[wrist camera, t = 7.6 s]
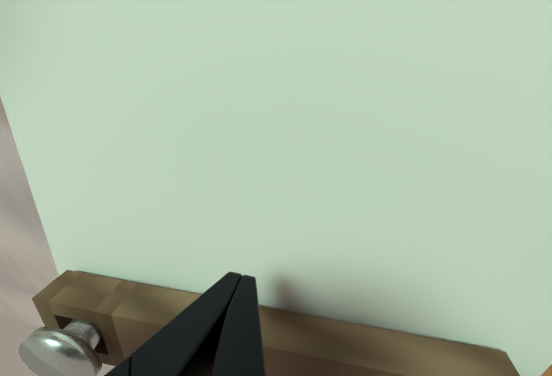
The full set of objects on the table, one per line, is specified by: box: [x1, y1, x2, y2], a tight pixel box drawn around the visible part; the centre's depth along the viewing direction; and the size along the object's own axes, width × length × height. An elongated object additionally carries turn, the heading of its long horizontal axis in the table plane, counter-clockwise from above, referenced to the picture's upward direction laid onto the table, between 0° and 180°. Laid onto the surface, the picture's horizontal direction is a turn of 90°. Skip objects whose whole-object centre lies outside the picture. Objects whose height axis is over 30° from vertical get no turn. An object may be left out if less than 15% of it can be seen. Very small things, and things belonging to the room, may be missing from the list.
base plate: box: [0, 0, 552, 376], centre depth 9 cm, size 23×22×4 cm
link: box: [32, 270, 520, 376], centre depth 12 cm, size 20×4×2 cm, turn 87°
